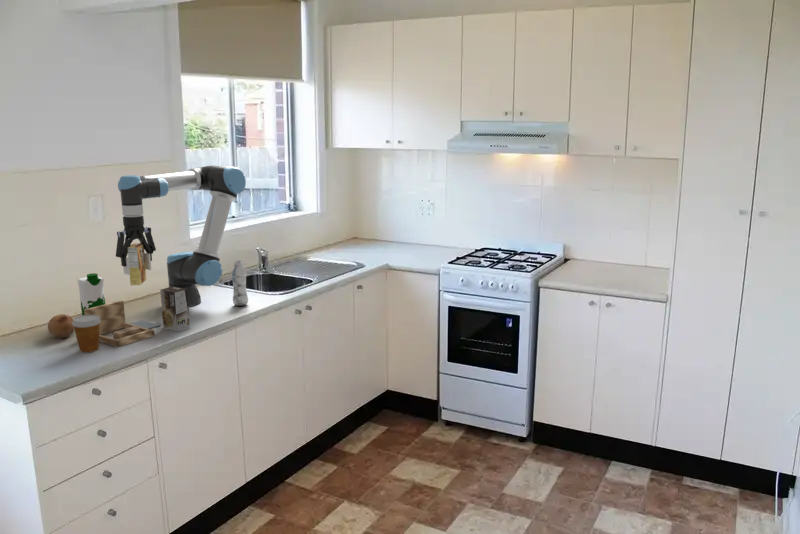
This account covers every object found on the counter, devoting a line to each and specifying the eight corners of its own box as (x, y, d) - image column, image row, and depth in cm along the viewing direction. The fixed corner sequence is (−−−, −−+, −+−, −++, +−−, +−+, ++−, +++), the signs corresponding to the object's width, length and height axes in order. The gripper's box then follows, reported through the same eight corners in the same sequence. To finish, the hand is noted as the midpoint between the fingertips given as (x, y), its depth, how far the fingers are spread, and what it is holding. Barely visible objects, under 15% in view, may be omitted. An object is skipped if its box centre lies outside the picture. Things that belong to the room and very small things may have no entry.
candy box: (136, 280, 275) (133, 242, 271) (147, 279, 275) (144, 242, 272) (130, 285, 266) (126, 247, 263) (141, 285, 267) (137, 247, 263)
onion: (69, 345, 261) (71, 326, 256) (43, 341, 258) (44, 321, 253) (77, 330, 268) (79, 310, 263) (51, 325, 266) (53, 305, 261)
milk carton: (88, 325, 276) (83, 277, 271) (79, 320, 282) (74, 273, 278) (109, 320, 282) (105, 273, 278) (100, 316, 288) (95, 270, 284)
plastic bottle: (249, 306, 303) (247, 262, 298) (234, 308, 300) (231, 264, 296) (247, 302, 308) (245, 259, 304) (231, 304, 306) (229, 261, 302)
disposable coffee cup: (71, 349, 248) (67, 318, 245) (97, 343, 254) (94, 312, 252) (80, 356, 241) (77, 323, 239) (107, 349, 248) (104, 318, 245)
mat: (142, 321, 281) (141, 319, 281) (160, 326, 275) (160, 324, 275) (124, 326, 275) (124, 324, 275) (143, 331, 268) (143, 330, 268)
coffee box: (190, 327, 273) (188, 289, 269) (177, 332, 268) (174, 292, 264) (176, 323, 278) (173, 285, 274) (162, 327, 273) (159, 289, 269)
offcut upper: (134, 331, 263) (133, 326, 262) (140, 333, 261) (140, 328, 260) (113, 337, 256) (112, 332, 255) (119, 339, 253) (119, 334, 253)
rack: (124, 326, 274) (121, 300, 272) (154, 335, 264) (152, 308, 261) (87, 337, 261) (84, 309, 259) (117, 346, 251) (114, 318, 248)
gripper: (151, 211, 275) (155, 265, 280) (101, 218, 258) (107, 275, 263) (162, 212, 271) (166, 267, 276) (113, 220, 254) (118, 278, 259)
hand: (137, 271), depth 270 cm, fingers closed on candy box, 9 cm apart
